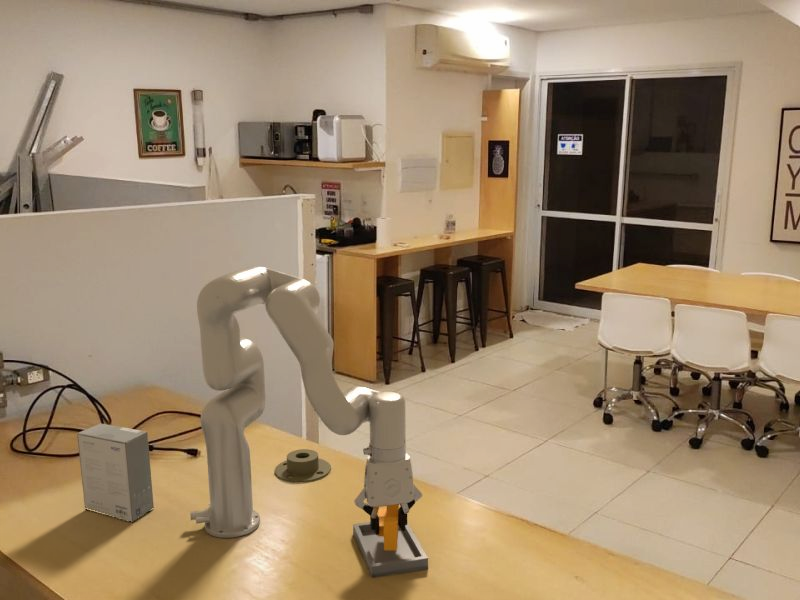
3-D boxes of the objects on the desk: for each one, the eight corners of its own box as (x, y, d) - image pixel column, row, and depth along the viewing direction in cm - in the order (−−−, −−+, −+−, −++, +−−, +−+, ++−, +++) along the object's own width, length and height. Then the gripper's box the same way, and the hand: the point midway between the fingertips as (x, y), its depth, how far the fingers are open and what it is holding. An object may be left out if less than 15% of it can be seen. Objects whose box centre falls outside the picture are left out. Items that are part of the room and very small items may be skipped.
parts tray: (371, 578, 152) (371, 566, 152) (353, 534, 169) (353, 524, 169) (428, 568, 156) (428, 558, 155) (404, 527, 173) (404, 517, 172)
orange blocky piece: (379, 521, 167) (379, 494, 166) (399, 521, 167) (398, 494, 166) (375, 550, 156) (375, 521, 154) (396, 550, 155) (396, 521, 154)
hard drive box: (155, 509, 182) (149, 431, 177) (132, 523, 175) (125, 443, 171) (107, 497, 188) (100, 422, 184) (83, 510, 181) (75, 432, 177)
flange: (297, 440, 212) (262, 459, 199) (341, 451, 205) (308, 471, 192) (297, 456, 213) (263, 476, 200) (341, 467, 206) (308, 488, 193)
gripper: (351, 463, 152) (353, 544, 156) (432, 453, 156) (432, 532, 160) (344, 448, 159) (346, 527, 163) (421, 439, 163) (421, 516, 167)
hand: (389, 529), depth 161 cm, fingers closed on orange blocky piece, 5 cm apart
